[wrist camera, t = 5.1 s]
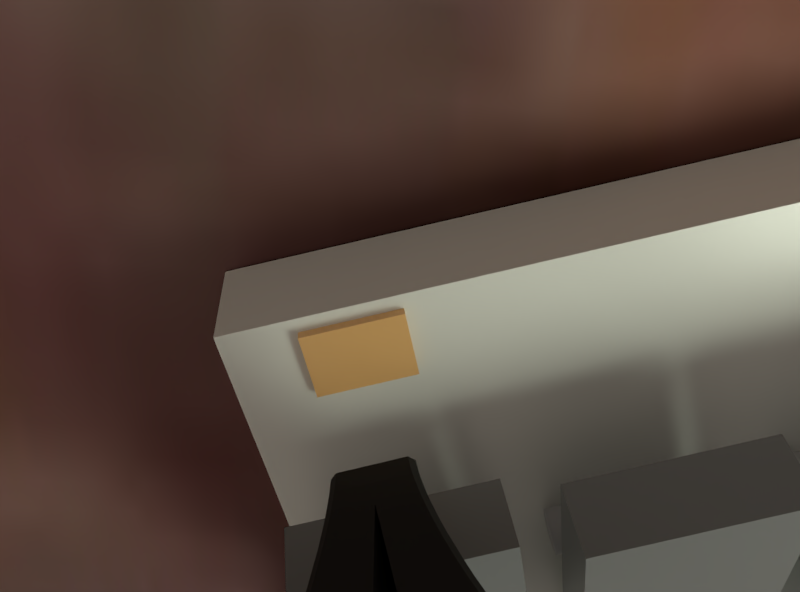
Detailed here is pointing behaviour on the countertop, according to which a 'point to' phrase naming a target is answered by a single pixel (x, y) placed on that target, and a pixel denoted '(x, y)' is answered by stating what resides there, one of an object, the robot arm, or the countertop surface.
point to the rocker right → (793, 579)
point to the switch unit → (531, 341)
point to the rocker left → (464, 522)
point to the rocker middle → (686, 523)
